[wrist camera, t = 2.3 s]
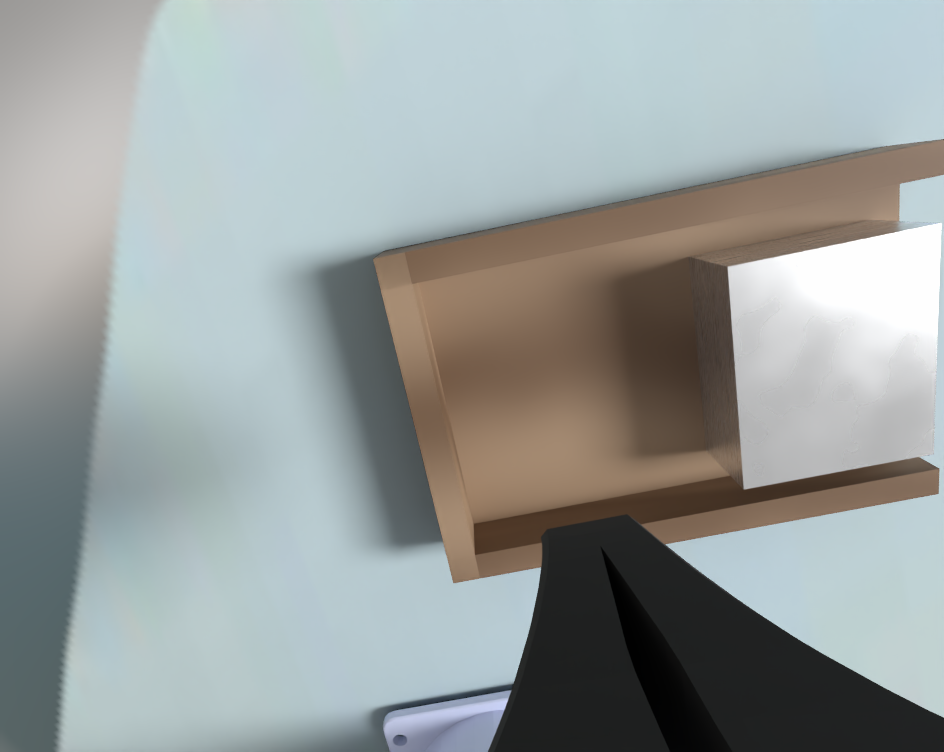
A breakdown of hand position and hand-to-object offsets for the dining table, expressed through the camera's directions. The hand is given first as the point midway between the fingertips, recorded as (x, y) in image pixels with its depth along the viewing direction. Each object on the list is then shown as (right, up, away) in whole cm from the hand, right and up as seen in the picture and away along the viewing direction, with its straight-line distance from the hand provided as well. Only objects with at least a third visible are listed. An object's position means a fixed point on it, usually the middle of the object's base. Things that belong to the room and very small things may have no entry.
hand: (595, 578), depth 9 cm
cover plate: (+7, +4, +8) cm, 12 cm away
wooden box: (+4, +3, +9) cm, 10 cm away
